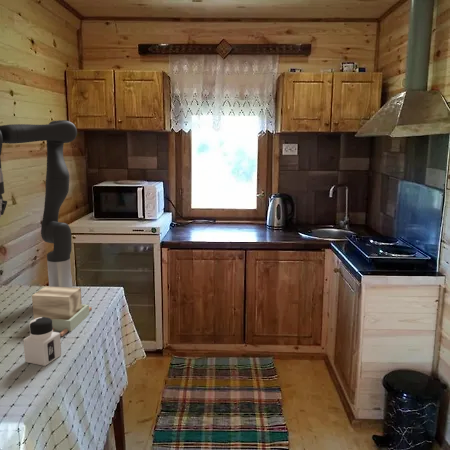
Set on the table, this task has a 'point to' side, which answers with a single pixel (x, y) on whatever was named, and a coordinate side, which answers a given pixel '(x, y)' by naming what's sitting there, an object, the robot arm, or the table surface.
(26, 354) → the container
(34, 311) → the ash block
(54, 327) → the grey-green piece
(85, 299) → the table surface
